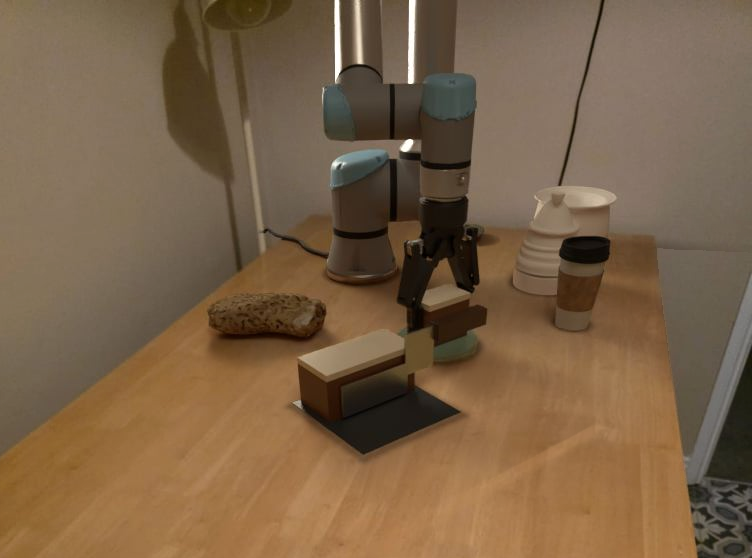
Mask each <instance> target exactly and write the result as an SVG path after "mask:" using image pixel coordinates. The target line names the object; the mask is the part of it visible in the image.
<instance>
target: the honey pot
mask: <svg viewBox="0 0 752 558" xmlns="http://www.w3.org/2000/svg"><path fill="white" fill-rule="evenodd" d="M564 197H565V192H562V191H553V192H551V198H552V199H550V200H549V201H548V202H546V203H545V205H544V206H543V207H542V208H541V210H540V211H539V213H538V214H537V216H536V217H535V216H534V217H535V219H534V218H533V219H532V220H530V221H529V222H528V223H527V228H528V231H527V233H526V235H525V236H524V238H523V239H522V244H520V247H519V251H518V252H517V254H516V256H515V260H514V261H515V262H514V266H513V275H512V285H513V286H514V288H515V289H518V290H519V291H521V292H524V293H527V294H532V295H536V296H538V295H539V296H557V284H558V269H559V266H560V259H561V257H560V256H559V249H560V248H561V245H562V242H563V240H564V239H566V238H569V237H576V235H575V233H577V232H578V231H579V229H580V226H579V224H578V223H577V222H575V221H573V220H572V217H571V214H570V211H569V209H568V207H567V205H566V203H565V202H564V201H563V199H564Z"/></svg>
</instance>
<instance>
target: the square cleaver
mask: <svg viewBox="0 0 752 558" xmlns="http://www.w3.org/2000/svg"><path fill="white" fill-rule="evenodd" d="M487 320H488V308H487V307H485V306H483V305H480V304H474V305H471V306H469V307H468V308H465V309H462V310H460V311H457V312H454V313H451V314H448V315H445V316H442V317H439V318H436V319H433V320H430V321H429V326H428V327H425V328H422V329H419V330H416V331H413V332H410V333H407V334H405V335H404V363H402V364H399V365H396V366H394V367H391V368H388V369H386V370H383V371H380V372H378V373H375V374H372V375H370V376H367V377H364V378H361V379H359V380H356V381H353V382H351V383H348V384H345V385H343V386H340V390H341V410H342V418H345V417H348V416H350V415H353V414H355V413H358V412H360V411H363V410H365V409H368V408H370V407H373V406H375V405H378V404H380V403H383V402H385V401H388V400H390V399H393V398H395V397H398V396H400V395H403V394H405V393H407V381H408V375H409V374H411V373H414V372H415V373H417V372H419V371H422V370H424V369H426V368H429V367H432V366H433V365H434V360H433V350H434V340H435V341H437V342H439V341H442V340H445V339H447V338H450V337H453V336H456V335H458V334H461V333H464V332H467V331H469V330H472V331H473V330H475V329H477V328H481V327H483V326H486V325H487Z"/></svg>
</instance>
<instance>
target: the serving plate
mask: <svg viewBox="0 0 752 558" xmlns="http://www.w3.org/2000/svg"><path fill="white" fill-rule="evenodd" d="M396 334H397V335H399V336H400V337H402V338H404V335H405V334H407V326H405V327H403V328H402V329H400V330H399V331H398V332H397V333H396ZM478 341H479V338H478V336H477V334H476V332H475V331H473V329H472V330H469V331H467V335H465V336H463V337H460V338H457V339H455V340H452V341H449V342H446V343H444V344H441V345H438V346H436V347H434V350H433V362H435V361H436V362H437V361H439V362H443V361H453V360H458V359H461V358H464V357H466V356H473V355H474V354H475V353H476V352H477V348H478Z"/></svg>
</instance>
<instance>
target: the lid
mask: <svg viewBox="0 0 752 558" xmlns="http://www.w3.org/2000/svg"><path fill="white" fill-rule="evenodd" d="M465 224H467V225H470V226H473V227H476V228H478V236H477V238H479V237H481V236H482V235H483V234H484V233H485V228H484V227H483V226H481V225H479V224H475V223H465ZM465 224H464V225H465Z"/></svg>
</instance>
